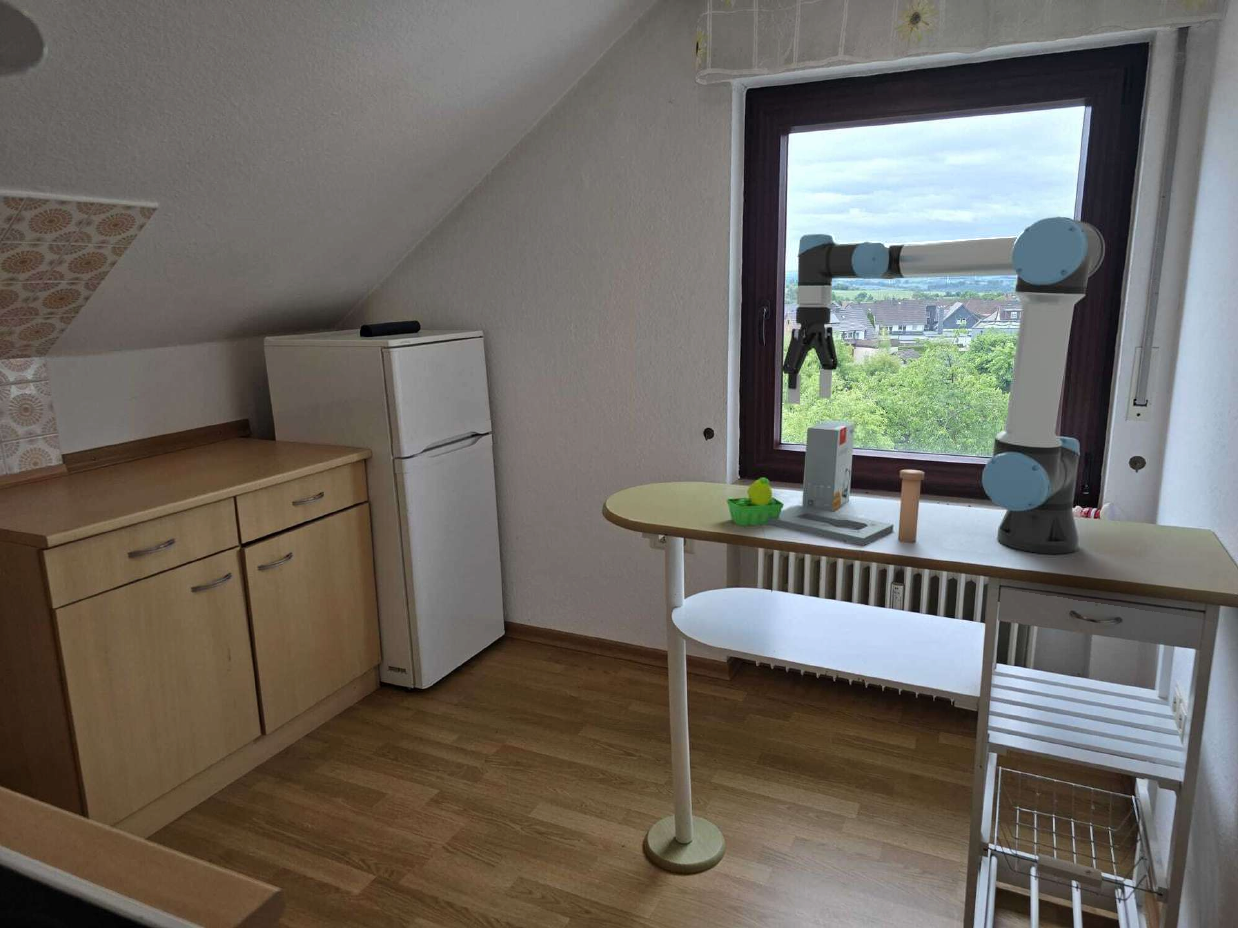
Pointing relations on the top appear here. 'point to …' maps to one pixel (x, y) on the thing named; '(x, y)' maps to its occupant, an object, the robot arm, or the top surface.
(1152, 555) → the top surface
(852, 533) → the keyhole board
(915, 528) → the peg
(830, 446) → the hard drive box
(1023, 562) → the top surface
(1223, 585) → the top surface
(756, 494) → the fruit basket
